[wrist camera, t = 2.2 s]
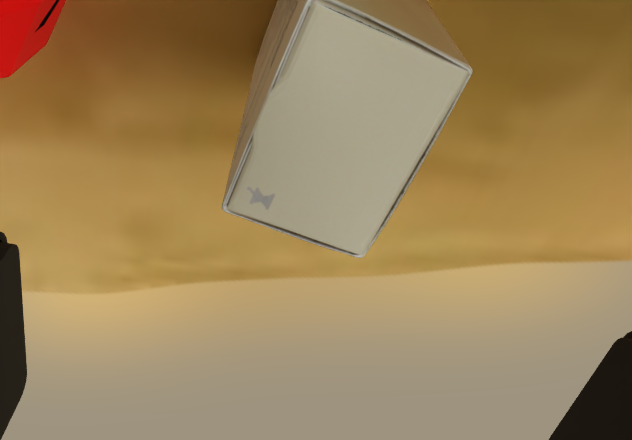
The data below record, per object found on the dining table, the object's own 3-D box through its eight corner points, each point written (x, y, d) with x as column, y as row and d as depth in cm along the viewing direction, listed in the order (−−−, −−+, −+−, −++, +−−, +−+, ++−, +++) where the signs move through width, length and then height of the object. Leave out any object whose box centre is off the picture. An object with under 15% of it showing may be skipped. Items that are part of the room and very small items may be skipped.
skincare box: (343, 100, 27) (360, 272, 17) (252, 62, 26) (213, 221, 16) (412, -40, 24) (485, 70, 14) (311, -89, 23) (309, -10, 13)
